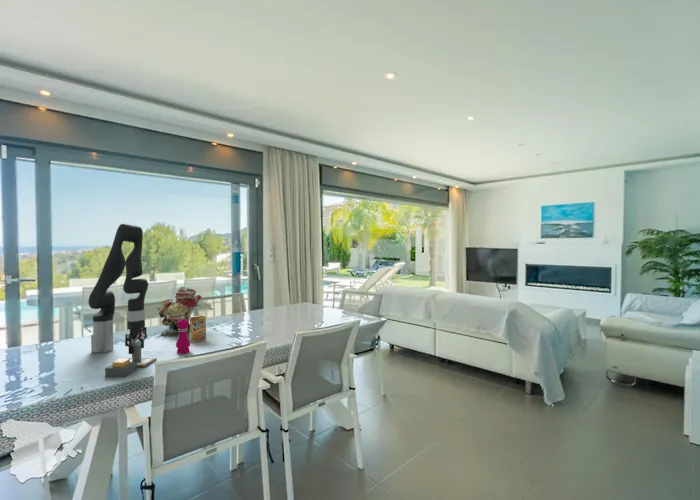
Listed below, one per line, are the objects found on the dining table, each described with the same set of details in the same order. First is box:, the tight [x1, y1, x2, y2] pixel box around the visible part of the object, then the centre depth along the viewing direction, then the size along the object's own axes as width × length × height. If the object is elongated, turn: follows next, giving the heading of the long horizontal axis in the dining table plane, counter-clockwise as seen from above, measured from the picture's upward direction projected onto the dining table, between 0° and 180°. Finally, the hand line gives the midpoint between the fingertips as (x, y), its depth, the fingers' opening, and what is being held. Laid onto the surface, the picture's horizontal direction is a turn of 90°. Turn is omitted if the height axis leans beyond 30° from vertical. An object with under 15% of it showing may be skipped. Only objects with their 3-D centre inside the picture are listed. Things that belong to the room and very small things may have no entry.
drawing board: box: [128, 357, 157, 369], centre depth 176 cm, size 14×11×1 cm
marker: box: [131, 340, 142, 363], centre depth 176 cm, size 4×4×10 cm
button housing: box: [104, 361, 138, 378], centre depth 164 cm, size 9×9×4 cm
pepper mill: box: [175, 317, 191, 355], centre depth 194 cm, size 7×7×20 cm
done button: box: [111, 358, 130, 367], centre depth 164 cm, size 5×5×4 cm
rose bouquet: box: [157, 286, 203, 338], centre depth 235 cm, size 26×29×30 cm
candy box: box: [189, 314, 207, 343], centre depth 216 cm, size 9×4×15 cm, turn 125°
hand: (136, 350), depth 176 cm, fingers open, 8 cm apart
